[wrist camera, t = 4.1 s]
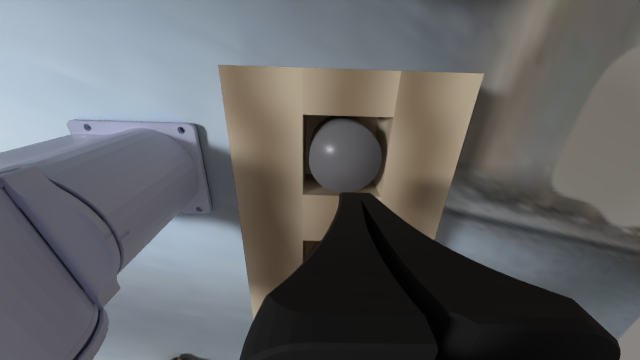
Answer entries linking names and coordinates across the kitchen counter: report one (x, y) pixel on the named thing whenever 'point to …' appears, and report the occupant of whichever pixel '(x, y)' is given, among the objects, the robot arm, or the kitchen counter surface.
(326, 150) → the knob
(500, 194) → the kitchen counter surface
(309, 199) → the mount
